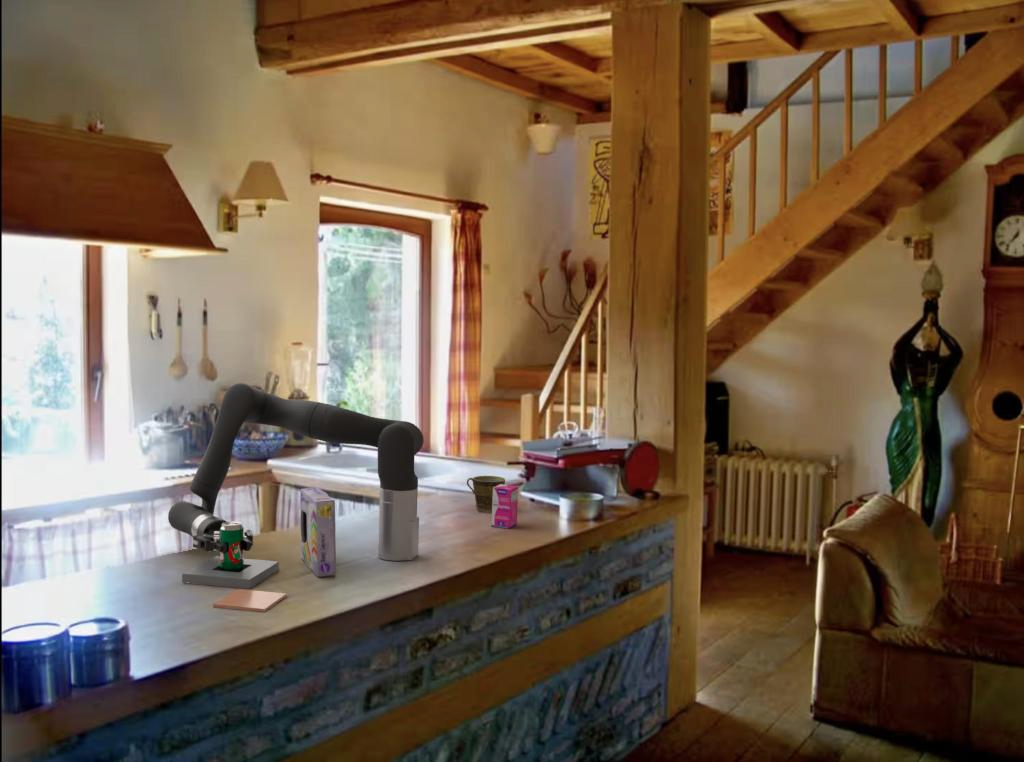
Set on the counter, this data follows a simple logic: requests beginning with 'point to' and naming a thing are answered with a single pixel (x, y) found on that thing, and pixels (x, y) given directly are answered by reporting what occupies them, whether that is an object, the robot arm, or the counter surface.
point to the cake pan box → (318, 531)
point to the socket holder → (230, 573)
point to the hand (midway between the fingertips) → (236, 547)
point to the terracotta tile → (250, 600)
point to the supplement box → (504, 506)
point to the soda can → (232, 547)
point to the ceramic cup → (485, 491)
